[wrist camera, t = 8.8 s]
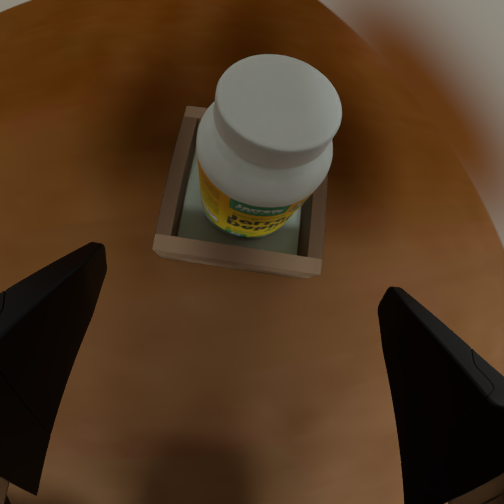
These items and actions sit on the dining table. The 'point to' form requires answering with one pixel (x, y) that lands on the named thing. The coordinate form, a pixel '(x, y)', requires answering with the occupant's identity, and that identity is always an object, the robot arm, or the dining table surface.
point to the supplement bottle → (265, 143)
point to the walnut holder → (220, 244)
